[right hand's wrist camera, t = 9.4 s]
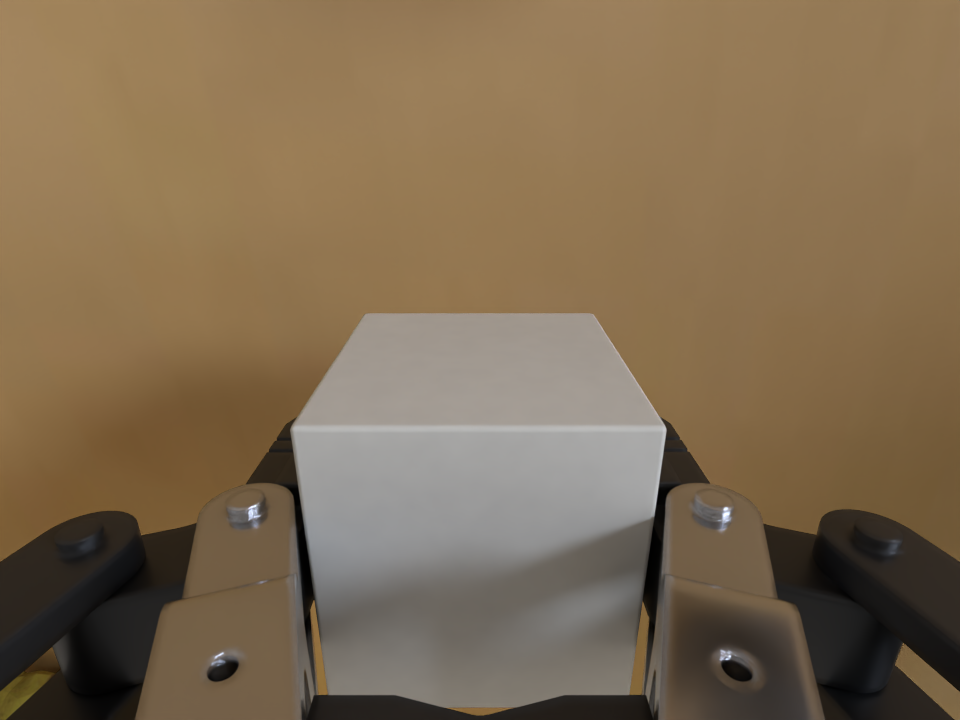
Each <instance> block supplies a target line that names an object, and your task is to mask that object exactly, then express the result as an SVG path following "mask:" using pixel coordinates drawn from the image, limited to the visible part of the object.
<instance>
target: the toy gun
mask: <svg viewBox="0 0 960 720" xmlns="http://www.w3.org/2000/svg"><path fill="white" fill-rule="evenodd" d="M54 675H55V673H52V672H48V671H43V670H40V671H34V672H28V673H25V671H23V672H22V673H21V674H20V675H19V676H18V677H16V678H15V679H14V680H13V681H12V682H11V683H10V684H8V685H7V686H6V687H5V688H4V689H3V690H1V691H0V720H6V719H7V718H8V717H9V716H10V715H11V714H12V713H14V712H15V711H16V710H17V709H18V708H19V707H20V706H21V705H22V704H23V703H24V702H26V701H27V700H28V699H29V698H30V697H31V696H32V695H33V694H34V693H35V692H36V691H37V690H39V689H40V688H41V687H42V686H43V685H44V684H45V683H46V682H47V681H48V680H49V679H51V678H52V677H53V676H54Z"/></svg>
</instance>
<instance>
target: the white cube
mask: <svg viewBox="0 0 960 720" xmlns="http://www.w3.org/2000/svg"><path fill="white" fill-rule="evenodd" d="M290 432H291V439H292V446H293V453H294V460H295V467H296V474H297V481H298V488H299V495H300V502H301V509H302V516H303V523H304V530H305V537H306V544H307V551H308V558H309V565H310V572H311V579H312V586H313V593H314V600H315V607H316V614H317V621H318V628H319V635H320V642H321V649H322V656H323V663H324V670H325V677H326V684H327V691H328V695H397V696H401V697H405V698H409V699H413V700H416V701H420V702H424V703H428V704H432V705H436V706H440V707H443V708H477V707H520V706H524V705H528V704H532V703H536V702H540V701H544V700H547V699H551V698H555V697H559V696H563V695H629V693H630V686H631V679H632V672H633V665H634V658H635V650H636V643H637V636H638V629H639V622H640V615H641V608H642V601H643V594H644V587H645V579H646V572H647V565H648V558H649V551H650V544H651V537H652V530H653V523H654V516H655V509H656V501H657V494H658V487H659V480H660V473H661V466H662V459H663V452H664V445H665V438H666V427H665V425H664V423H663V422H662V420H661V418H660V417H659V415H658V414H657V412H656V411H655V409H654V408H653V406H652V404H651V403H650V401H649V400H648V398H647V397H646V395H645V394H644V392H643V390H642V389H641V387H640V386H639V384H638V383H637V381H636V380H635V378H634V376H633V375H632V373H631V372H630V370H629V369H628V367H627V366H626V364H625V363H624V361H623V359H622V358H621V356H620V355H619V353H618V352H617V350H616V349H615V347H614V345H613V344H612V342H611V341H610V339H609V338H608V336H607V335H606V333H605V331H604V330H603V328H602V327H601V325H600V324H599V322H598V321H597V319H596V317H595V316H594V314H591V313H367V314H364V316H363V317H362V319H361V320H360V322H359V323H358V325H357V326H356V328H355V329H354V331H353V332H352V334H351V335H350V337H349V339H348V340H347V342H346V343H345V345H344V346H343V348H342V349H341V351H340V352H339V354H338V355H337V357H336V358H335V360H334V362H333V363H332V365H331V366H330V368H329V369H328V371H327V372H326V374H325V375H324V377H323V378H322V380H321V382H320V383H319V385H318V386H317V388H316V389H315V391H314V392H313V394H312V395H311V397H310V398H309V400H308V401H307V403H306V405H305V406H304V408H303V409H302V411H301V412H300V414H299V415H298V417H297V418H296V420H295V421H294V423H293V424H292V426H291V429H290Z"/></svg>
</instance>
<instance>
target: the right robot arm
mask: <svg viewBox="0 0 960 720" xmlns="http://www.w3.org/2000/svg"><path fill="white" fill-rule="evenodd" d="M659 417H660V416H659ZM296 418H297V417H296ZM296 418H295V419H293V420H292V421H290V422H289V423H287V424H286V425H285V427H284V428H283V430H282V431H281V433H280V434H279V436H278V437H277V441H275V442H274V443H273V444H272V446H271V447H270V449H269V452H267V453H266V455H265V456H264V458H263V459H262V461H261V462H260V464H259V465H258V467H257V468H256V470H255V471H254V473H253V474H252V476H251V477H250V479H249V480H248V482H247V483H246V485H242V486H239V487H236V488H233V489H230V490H228V491H225V492H223V493H221V494H219V495H218V496H216V497H215V498H213V499H212V500H211V501H209V502H208V503H207V504H206V505H205V506H204V507H203V508H202V510H201V512H200V513H199V516H198V520H197V523H195V524H192V525H189V526H185V527H181V528H176V529H171V530H166V531H161V532H156V533H151V534H146V535H141V533H140V529H139V526H138V523H137V520H136V519H135V518H134V517H133V516H132V515H130V514H128V513H125V512H120V511H102V512H95V513H90V514H86V515H82V516H79V517H76V518H73V519H70V520H68V521H66V522H63V523H61V524H59V525H57V526H55V527H53V528H51V529H50V530H48V531H46V532H45V533H43V534H42V535H40V536H39V537H37V538H36V539H34V540H33V541H31V542H30V543H28V544H27V545H25V546H24V547H22V548H21V549H19V550H18V551H16V552H15V553H13V554H12V555H10V556H9V557H7V558H6V559H4V560H3V561H1V562H0V691H1V690H3V689H4V688H5V687H6V686H7V685H8V684H10V683H11V682H12V681H13V680H14V679H15V678H16V677H18V676H19V675H20V674H21V673H22V672H23V671H24V670H26V669H27V668H28V667H29V666H30V665H31V664H33V663H34V662H35V661H36V660H37V659H38V658H39V657H41V656H42V655H43V654H44V653H45V652H46V651H48V650H49V649H50V648H51V647H53V650H54V652H55V655H56V658H57V660H58V663H59V665H60V668H61V669H60V670H59V671H58V672H57V673H56V674H55V675H54V676H53V677H52V678H51V679H49V680H48V681H47V682H46V683H45V684H44V685H43V686H42V687H41V688H40V689H39V690H37V691H36V692H35V693H34V694H33V695H32V696H31V697H30V698H29V699H28V700H27V701H26V702H24V703H23V704H22V705H21V706H20V707H19V708H18V709H17V710H16V711H15V712H14V713H12V714H11V715H10V716H9V717H8V718H7V719H6V720H954V719H953V718H952V717H951V716H950V715H949V714H948V713H946V712H945V711H944V710H943V709H942V708H941V707H940V706H939V705H938V704H937V703H936V702H934V701H933V700H932V699H931V698H930V697H929V696H928V695H927V694H926V693H925V692H924V691H923V690H921V689H920V688H919V687H918V686H917V685H916V684H915V683H914V682H913V681H912V680H911V679H909V678H908V677H907V676H906V675H905V674H904V673H903V672H902V671H901V670H900V669H899V668H898V667H896V666H895V662H896V660H897V657H898V655H899V652H900V649H901V647H902V644H903V643H904V644H906V645H907V646H908V647H909V648H910V649H911V650H912V651H914V652H915V653H916V654H917V655H918V656H919V657H921V658H922V659H923V660H924V661H925V662H926V663H927V664H929V665H930V666H931V667H932V668H933V669H934V670H935V671H937V672H938V673H939V674H940V675H941V676H942V677H944V678H945V679H946V680H947V681H948V682H949V683H950V684H952V685H953V686H954V687H955V688H956V689H957V690H958V691H960V562H959V561H957V560H956V559H954V558H953V557H951V556H950V555H948V554H947V553H945V552H944V551H942V550H941V549H939V548H938V547H936V546H935V545H933V544H932V543H930V542H929V541H927V540H926V539H924V538H923V537H921V536H920V535H918V534H917V533H915V532H914V531H912V530H911V529H909V528H907V527H906V526H904V525H902V524H900V523H898V522H896V521H893V520H891V519H889V518H886V517H883V516H880V515H877V514H874V513H870V512H865V511H860V510H851V509H842V510H835V511H831V512H829V513H827V514H825V515H824V516H823V517H822V518H821V521H820V524H819V528H818V531H817V535H814V534H809V533H804V532H799V531H794V530H789V529H784V528H779V527H774V526H770V525H766V524H763V520H762V516H761V513H760V512H759V510H758V508H757V507H756V506H755V505H754V504H753V503H752V502H751V501H749V500H748V499H747V498H745V497H744V496H742V495H741V494H739V493H737V492H735V491H732V490H730V489H727V488H724V487H721V486H718V485H713V484H710V482H709V481H708V479H707V478H706V476H705V475H704V473H703V472H702V470H701V469H700V467H699V466H698V464H697V463H696V461H695V460H694V458H693V457H692V455H691V454H690V452H687V448H686V446H685V445H684V443H683V442H682V440H680V437H679V436H678V434H677V433H676V431H675V430H674V428H673V427H672V425H671V424H670V423H669V422H667V421H666V420H664V419H663V418H661V417H660V418H661V420H662V422H663V423H664V425H665V427H666V438H665V445H664V452H663V459H662V466H661V473H660V480H659V487H658V494H657V501H656V509H655V516H654V523H653V530H652V537H651V544H650V551H649V558H648V565H647V572H646V579H645V587H644V594H643V602H644V605H645V608H646V611H647V614H648V616H649V619H648V626H647V634H646V647H645V659H644V672H643V684H642V695H563V696H559V697H555V698H551V699H547V700H544V701H540V702H536V703H532V704H528V705H524V706H520V707H517V708H513V709H509V710H505V711H501V712H497V713H493V714H489V715H484V716H476V715H471V714H467V713H463V712H459V711H455V710H451V709H447V708H443V707H440V706H436V705H432V704H428V703H424V702H420V701H416V700H413V699H409V698H405V697H401V696H397V695H318V684H317V672H316V660H315V647H314V635H313V626H312V619H311V612H310V609H311V606H312V603H313V600H314V593H313V586H312V579H311V572H310V565H309V558H308V551H307V544H306V537H305V530H304V523H303V516H302V509H301V502H300V495H299V488H298V481H297V474H296V467H295V460H294V453H293V446H292V439H291V432H290V429H291V426H292V424H293V423H294V421H295V420H296Z"/></svg>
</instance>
